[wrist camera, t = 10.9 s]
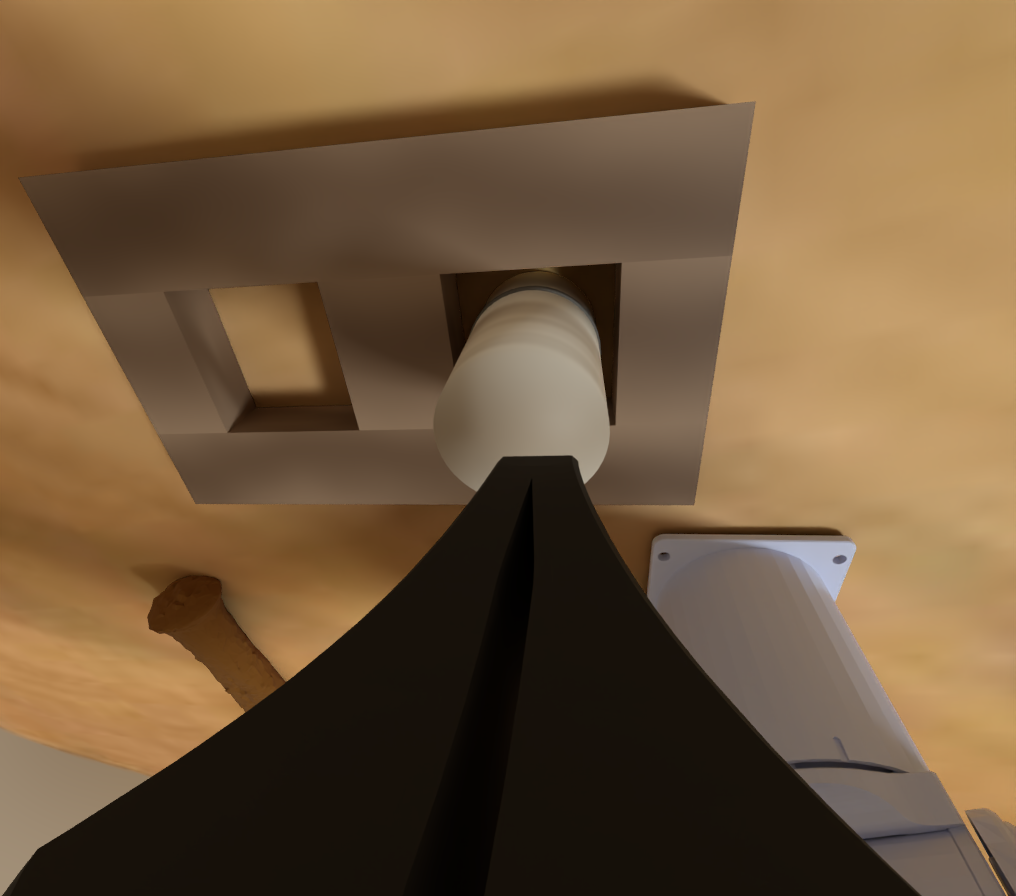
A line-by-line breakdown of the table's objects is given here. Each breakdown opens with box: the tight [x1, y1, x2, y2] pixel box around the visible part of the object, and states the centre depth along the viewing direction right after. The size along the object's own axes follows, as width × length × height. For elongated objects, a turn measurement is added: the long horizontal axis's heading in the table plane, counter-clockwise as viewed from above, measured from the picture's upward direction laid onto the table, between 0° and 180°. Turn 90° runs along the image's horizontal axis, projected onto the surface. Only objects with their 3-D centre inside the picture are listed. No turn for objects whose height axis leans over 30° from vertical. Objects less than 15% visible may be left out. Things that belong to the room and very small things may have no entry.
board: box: [19, 101, 756, 505], centre depth 17 cm, size 12×20×2 cm, turn 95°
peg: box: [433, 271, 610, 491], centre depth 14 cm, size 4×4×7 cm
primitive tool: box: [147, 576, 286, 712], centre depth 30 cm, size 19×6×4 cm, turn 10°
